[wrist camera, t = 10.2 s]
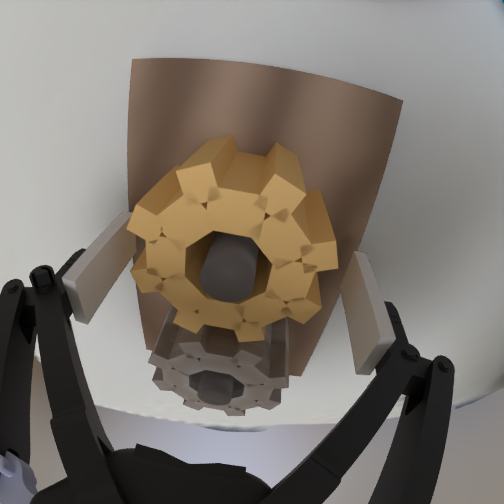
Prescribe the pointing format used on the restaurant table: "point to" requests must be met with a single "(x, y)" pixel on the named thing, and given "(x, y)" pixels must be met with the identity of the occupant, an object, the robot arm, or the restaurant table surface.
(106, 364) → the restaurant table surface
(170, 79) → the gear board
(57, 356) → the robot arm
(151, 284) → the ochre gear
